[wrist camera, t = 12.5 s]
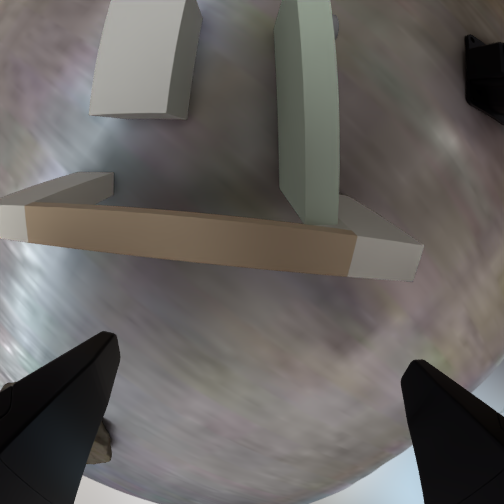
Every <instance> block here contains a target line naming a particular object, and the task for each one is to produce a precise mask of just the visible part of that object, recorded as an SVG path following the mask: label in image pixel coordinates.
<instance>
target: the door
mask: <svg viewBox="0 0 504 504" xmlns="http://www.w3.org/2000/svg"><path fill="white" fill-rule="evenodd" d="M338 31H339V22H338V18H337V16H336V15H333V14H332V11H331V3H330V0H282V2H281V6H280V9H279V12H278V16H277V19H276V23H275V26H274V46H275V65H276V87H277V113H278V146H279V189H280V190H281V191H282V193H283V194H284V196H285V197H286V199H287V200H288V201H289V203H290V204H291V206H292V207H293V209H294V210H295V212H296V213H297V214H298V216H299V217H300V219H301V220H302V222H303V223H304V224H307V225H338V206H339V174H340V125H339V94H338V75H337V61H336V48H335V39H336V38H337V36H338Z"/></svg>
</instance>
